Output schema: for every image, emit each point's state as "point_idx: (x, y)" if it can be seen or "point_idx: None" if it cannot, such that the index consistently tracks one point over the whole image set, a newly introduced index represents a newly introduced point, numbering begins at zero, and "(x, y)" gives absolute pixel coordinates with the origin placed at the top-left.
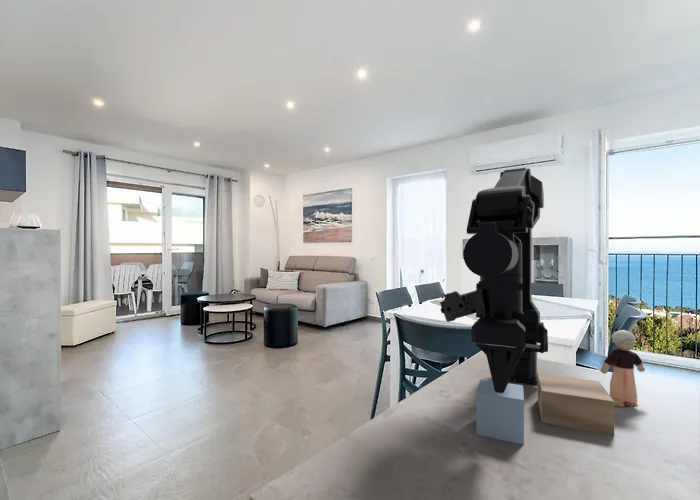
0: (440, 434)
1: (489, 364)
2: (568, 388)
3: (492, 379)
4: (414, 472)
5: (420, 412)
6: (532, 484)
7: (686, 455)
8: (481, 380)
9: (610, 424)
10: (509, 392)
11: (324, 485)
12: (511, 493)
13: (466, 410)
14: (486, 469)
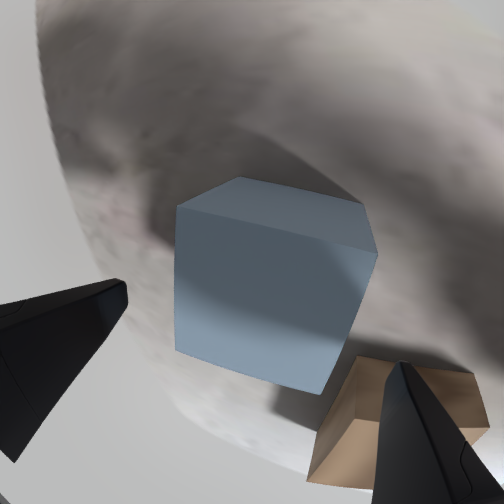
0: (206, 81)
1: (7, 306)
2: (376, 458)
3: (70, 289)
4: (73, 76)
5: (334, 13)
6: (107, 255)
7: (275, 459)
8: (354, 254)
9: (315, 443)
10: (226, 334)
11: (44, 2)
12: (79, 220)
13: (404, 165)
14: (111, 189)
